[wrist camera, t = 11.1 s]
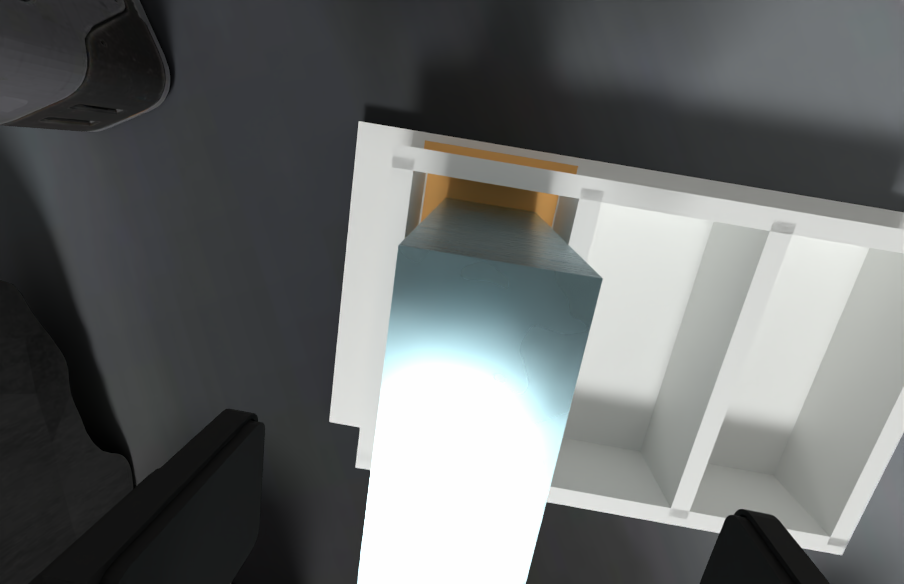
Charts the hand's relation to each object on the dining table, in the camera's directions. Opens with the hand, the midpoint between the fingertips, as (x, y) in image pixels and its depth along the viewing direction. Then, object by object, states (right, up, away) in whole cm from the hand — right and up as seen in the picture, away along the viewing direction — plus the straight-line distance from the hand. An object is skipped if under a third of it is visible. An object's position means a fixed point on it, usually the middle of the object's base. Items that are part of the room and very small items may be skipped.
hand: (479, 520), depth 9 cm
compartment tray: (+7, +3, +14) cm, 16 cm away
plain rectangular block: (0, +4, +13) cm, 13 cm away
